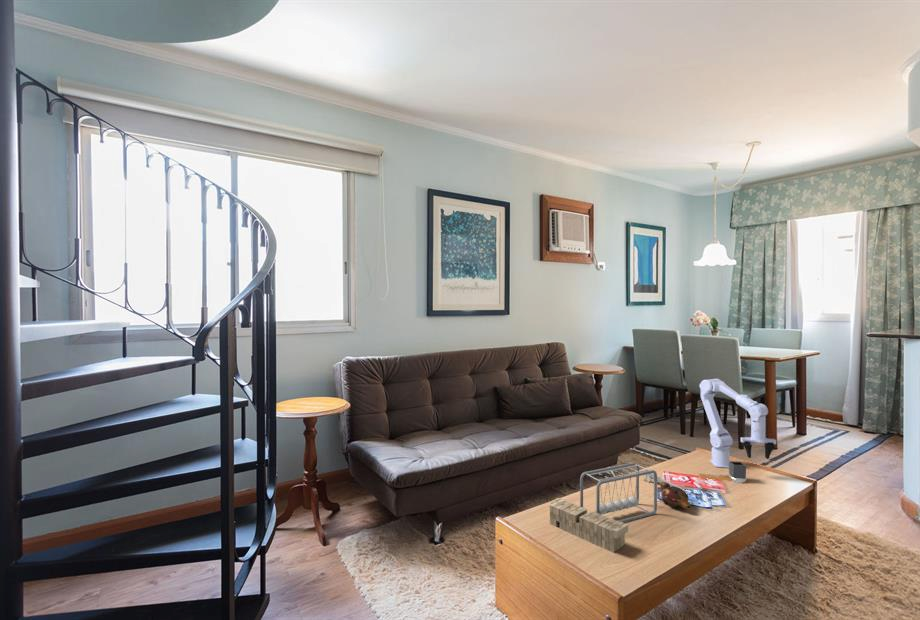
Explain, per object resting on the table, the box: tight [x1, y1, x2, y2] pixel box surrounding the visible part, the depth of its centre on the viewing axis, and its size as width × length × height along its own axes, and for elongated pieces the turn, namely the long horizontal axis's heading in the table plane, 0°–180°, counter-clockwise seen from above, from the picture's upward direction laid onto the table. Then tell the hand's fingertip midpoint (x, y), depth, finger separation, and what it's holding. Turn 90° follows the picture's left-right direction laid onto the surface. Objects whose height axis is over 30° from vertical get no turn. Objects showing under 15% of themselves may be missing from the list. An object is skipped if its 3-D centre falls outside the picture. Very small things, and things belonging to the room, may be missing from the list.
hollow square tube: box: [728, 460, 747, 480], centre depth 209 cm, size 5×5×6 cm
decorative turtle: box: [659, 482, 692, 510], centre depth 183 cm, size 10×15×8 cm, turn 23°
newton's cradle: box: [579, 462, 658, 524], centre depth 175 cm, size 30×10×18 cm, turn 113°
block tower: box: [549, 497, 629, 553], centre depth 161 cm, size 8×8×29 cm
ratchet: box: [697, 473, 747, 484], centre depth 210 cm, size 20×7×5 cm, turn 78°
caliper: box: [643, 471, 688, 493], centre depth 201 cm, size 20×1×6 cm, turn 41°
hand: (758, 457), depth 212 cm, fingers open, 7 cm apart
